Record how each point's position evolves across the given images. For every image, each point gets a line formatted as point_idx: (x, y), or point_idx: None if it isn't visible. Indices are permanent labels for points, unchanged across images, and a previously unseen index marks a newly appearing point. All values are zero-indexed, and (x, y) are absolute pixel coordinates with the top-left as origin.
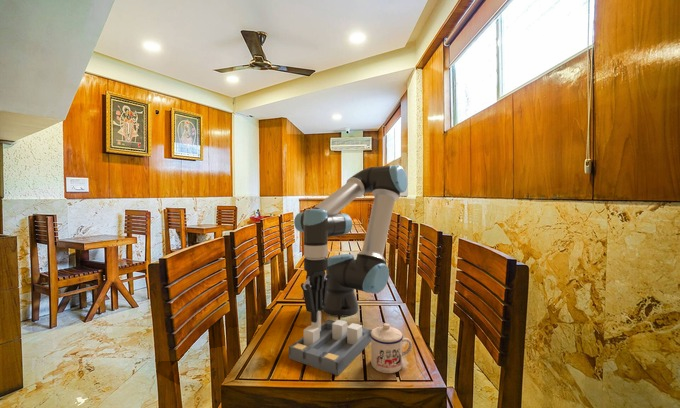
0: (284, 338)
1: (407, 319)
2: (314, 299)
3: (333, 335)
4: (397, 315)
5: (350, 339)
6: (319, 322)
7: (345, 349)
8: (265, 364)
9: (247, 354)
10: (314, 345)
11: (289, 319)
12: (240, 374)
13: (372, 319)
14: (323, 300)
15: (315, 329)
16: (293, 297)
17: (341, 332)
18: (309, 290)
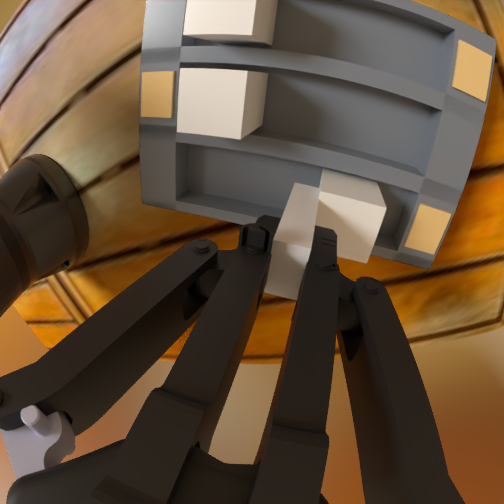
0: (294, 304)
1: (22, 3)
2: (330, 358)
3: (258, 121)
4: (11, 39)
5: (269, 26)
6: (304, 207)
7: (330, 35)
8: (452, 292)
9: None
10: (404, 172)
11: None
12: (486, 321)
13: (46, 82)
14: (196, 275)
15: (350, 206)
16: None
17: (258, 74)
18: (446, 486)
